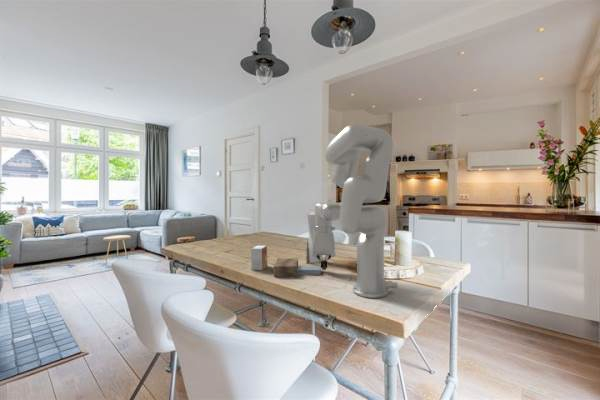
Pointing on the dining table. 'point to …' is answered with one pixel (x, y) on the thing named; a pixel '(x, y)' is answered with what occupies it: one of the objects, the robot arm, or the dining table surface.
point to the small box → (258, 257)
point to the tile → (309, 270)
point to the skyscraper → (311, 239)
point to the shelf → (286, 268)
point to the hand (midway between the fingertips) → (324, 269)
